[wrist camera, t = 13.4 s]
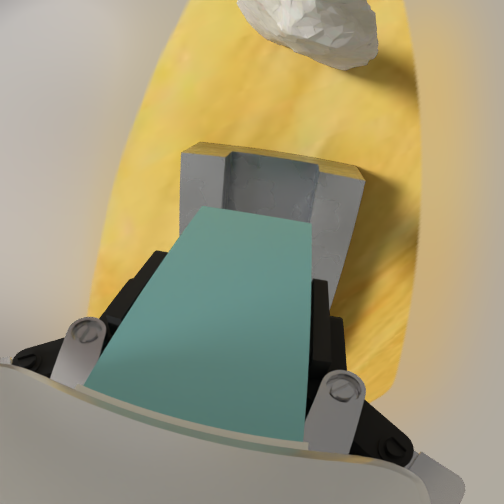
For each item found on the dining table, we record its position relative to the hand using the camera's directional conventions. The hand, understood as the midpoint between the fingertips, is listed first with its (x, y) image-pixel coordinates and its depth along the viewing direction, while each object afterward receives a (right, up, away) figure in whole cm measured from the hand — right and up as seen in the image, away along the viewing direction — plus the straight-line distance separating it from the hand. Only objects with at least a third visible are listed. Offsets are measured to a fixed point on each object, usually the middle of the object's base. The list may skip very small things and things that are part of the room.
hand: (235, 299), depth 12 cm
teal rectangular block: (+1, +2, +3) cm, 4 cm away
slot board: (+1, +2, +15) cm, 16 cm away
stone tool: (+4, +17, +7) cm, 18 cm away
